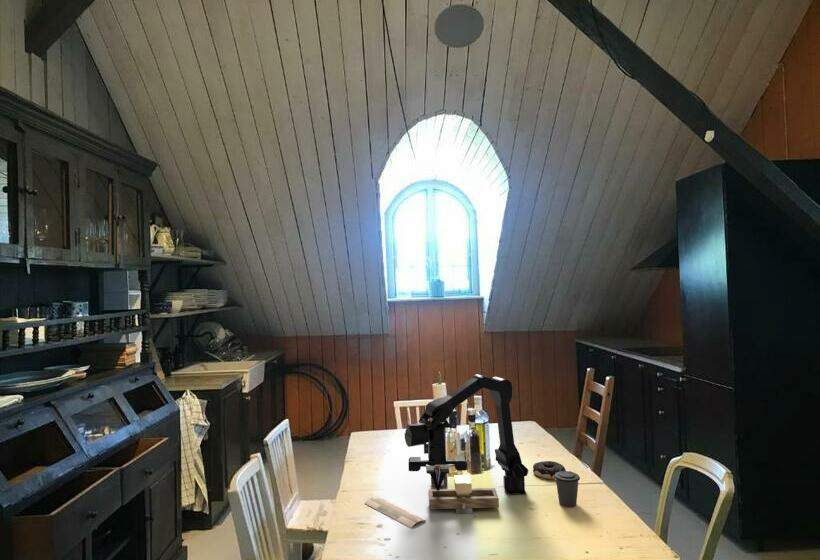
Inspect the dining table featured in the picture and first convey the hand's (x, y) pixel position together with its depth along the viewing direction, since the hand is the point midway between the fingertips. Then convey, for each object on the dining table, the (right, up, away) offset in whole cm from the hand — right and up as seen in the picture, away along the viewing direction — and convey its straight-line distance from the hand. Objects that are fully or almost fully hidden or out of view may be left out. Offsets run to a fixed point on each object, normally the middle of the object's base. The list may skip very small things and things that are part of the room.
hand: (438, 490), depth 164 cm
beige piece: (-15, -7, -2) cm, 16 cm away
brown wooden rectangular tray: (+8, -6, 0) cm, 10 cm away
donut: (+43, -5, +25) cm, 50 cm away
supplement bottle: (+1, -6, +18) cm, 19 cm away
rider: (+8, -3, 0) cm, 9 cm away
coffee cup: (+42, -5, 0) cm, 42 cm away
